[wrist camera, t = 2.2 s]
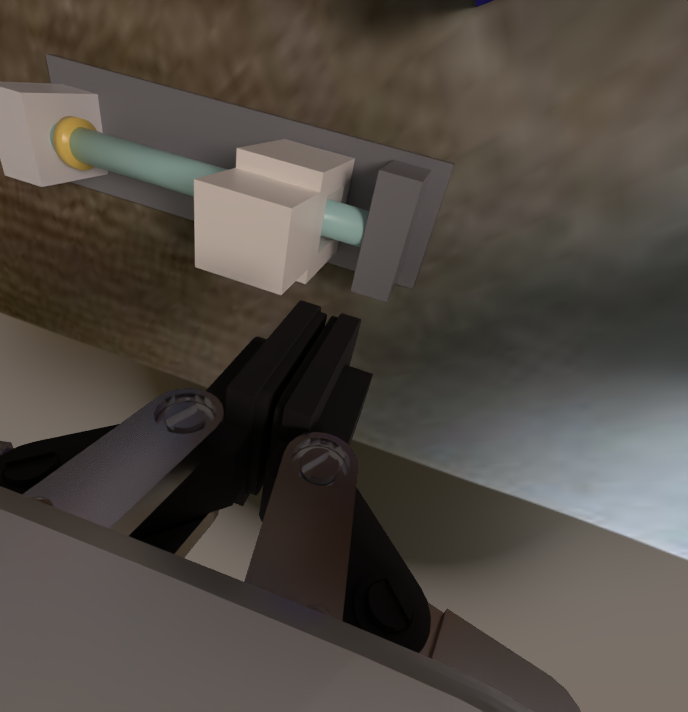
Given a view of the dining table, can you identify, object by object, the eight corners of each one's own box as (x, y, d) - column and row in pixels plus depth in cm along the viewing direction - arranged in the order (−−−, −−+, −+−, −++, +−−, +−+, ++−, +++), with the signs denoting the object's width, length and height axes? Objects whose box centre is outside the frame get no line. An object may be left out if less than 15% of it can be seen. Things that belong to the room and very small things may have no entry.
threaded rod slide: (454, 163, 20) (447, 179, 16) (413, 286, 24) (399, 325, 20) (51, 54, 23) (-44, 44, 19) (74, 180, 27) (-1, 195, 23)
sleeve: (355, 158, 21) (294, 185, 14) (336, 252, 24) (279, 311, 17) (284, 138, 21) (193, 156, 15) (275, 233, 24) (195, 283, 18)
